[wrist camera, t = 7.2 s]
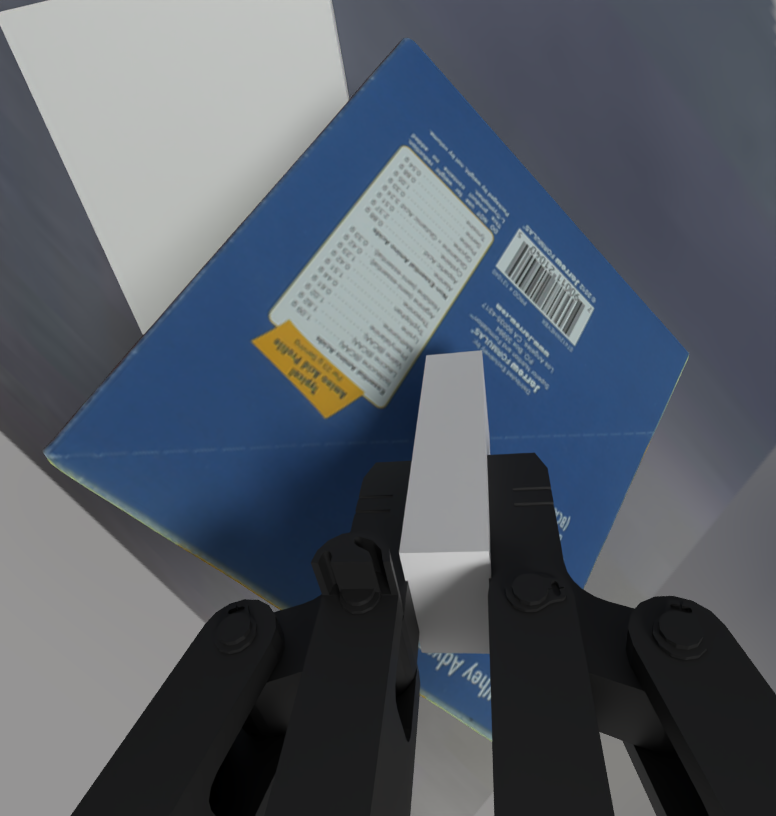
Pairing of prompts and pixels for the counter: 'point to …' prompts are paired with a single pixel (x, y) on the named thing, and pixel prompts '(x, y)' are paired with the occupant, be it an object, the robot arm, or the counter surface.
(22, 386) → the counter surface
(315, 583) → the protein box
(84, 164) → the mat
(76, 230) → the counter surface
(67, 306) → the counter surface
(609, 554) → the counter surface
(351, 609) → the robot arm
